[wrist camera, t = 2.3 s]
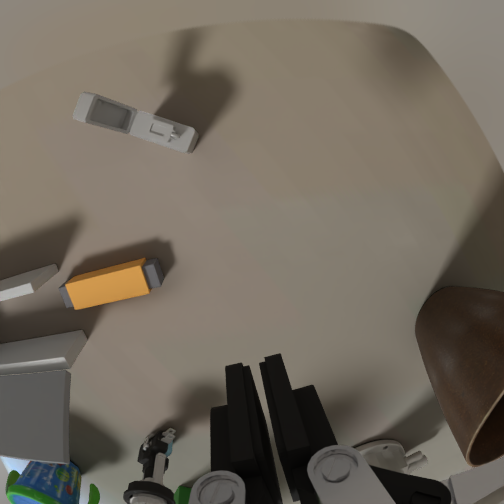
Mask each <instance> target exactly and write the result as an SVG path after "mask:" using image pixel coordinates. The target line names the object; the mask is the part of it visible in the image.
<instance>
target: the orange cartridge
mask: <svg viewBox="0 0 504 504" xmlns="http://www.w3.org/2000/svg"><path fill="white" fill-rule="evenodd" d="M163 280H164V277H163V274H162V271H161V268H160V265H159V261H158V258H154V259H150V260H146V258H142V259H138V260H134V261H130V262H127V263H123V264H119V265H115V266H111V267H107V268H104V269H100V270H96V271H92V272H88V273H85V274H81V275H77V276H74V277H73V278H72V279H70V280H69V281H66V282H65V283H64V284H63V285H62V286H61V287H59V291H60V293H61V295H62V298H63V300H64V303H65V305H66V308H69V307H73V306H74V308H75V310H78V309H82V308H87V307H92V306H96V305H101V304H105V303H110V302H114V301H118V300H123V299H127V298H132V297H136V296H141V295H145V294H149V293H150V291H151V289H152V288H156V287H161V285H162V282H163Z"/></svg>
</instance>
